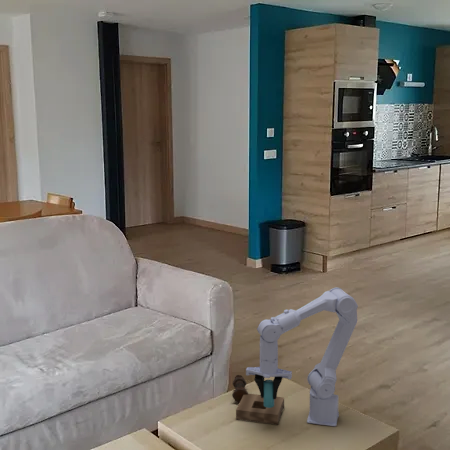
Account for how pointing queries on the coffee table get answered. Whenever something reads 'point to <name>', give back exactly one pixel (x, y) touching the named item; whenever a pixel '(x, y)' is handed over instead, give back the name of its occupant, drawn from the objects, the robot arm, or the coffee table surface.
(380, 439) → the coffee table surface
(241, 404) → the bore block
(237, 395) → the bolt
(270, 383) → the pin
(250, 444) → the coffee table surface
